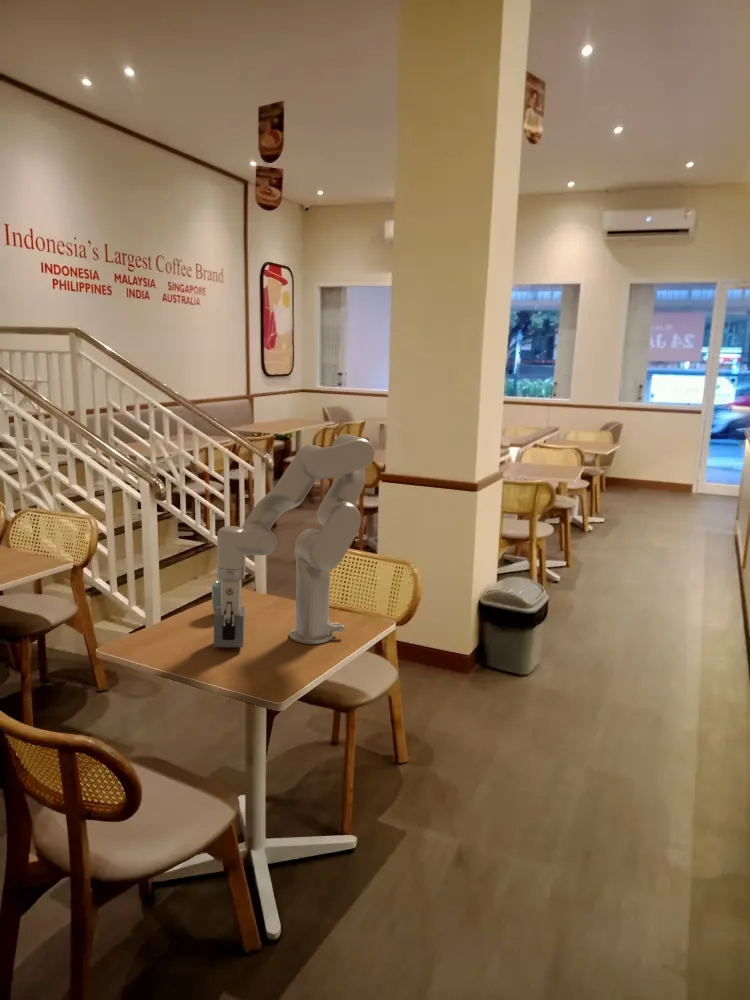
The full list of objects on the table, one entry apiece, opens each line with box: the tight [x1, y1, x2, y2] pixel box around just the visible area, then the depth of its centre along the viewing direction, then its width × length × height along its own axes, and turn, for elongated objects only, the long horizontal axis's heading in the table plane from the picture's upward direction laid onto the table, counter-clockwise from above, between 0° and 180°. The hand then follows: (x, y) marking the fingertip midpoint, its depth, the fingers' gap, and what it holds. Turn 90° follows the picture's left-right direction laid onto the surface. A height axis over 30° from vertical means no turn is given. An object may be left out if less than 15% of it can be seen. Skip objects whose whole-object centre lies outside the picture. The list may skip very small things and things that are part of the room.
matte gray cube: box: [213, 606, 246, 648], centre depth 195 cm, size 8×8×9 cm
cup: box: [211, 580, 221, 614], centre depth 219 cm, size 8×8×10 cm
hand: (229, 633), depth 195 cm, fingers closed on matte gray cube, 7 cm apart
